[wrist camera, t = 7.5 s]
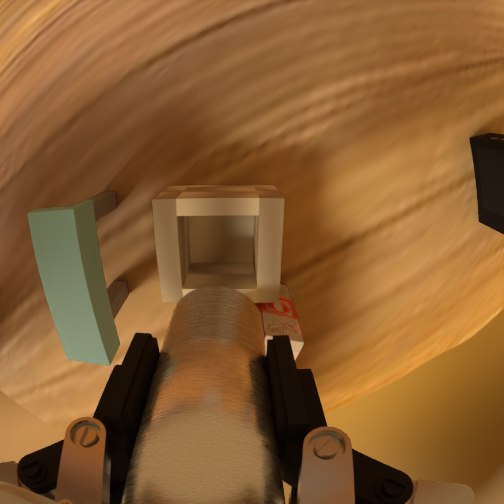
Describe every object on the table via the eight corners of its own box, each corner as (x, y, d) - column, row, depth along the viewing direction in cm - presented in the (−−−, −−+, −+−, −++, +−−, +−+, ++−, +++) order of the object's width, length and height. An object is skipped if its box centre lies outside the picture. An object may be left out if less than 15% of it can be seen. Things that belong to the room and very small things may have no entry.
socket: (175, 270, 28) (162, 302, 22) (169, 185, 25) (151, 199, 19) (270, 269, 28) (278, 302, 23) (273, 185, 25) (284, 198, 20)
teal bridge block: (107, 299, 29) (68, 359, 19) (89, 185, 24) (27, 212, 15) (141, 300, 29) (110, 365, 20) (127, 182, 25) (73, 208, 15)
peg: (167, 285, 12) (84, 529, 3) (263, 285, 12) (306, 549, 3) (177, 357, 14) (142, 559, 4) (260, 358, 14) (282, 566, 4)
